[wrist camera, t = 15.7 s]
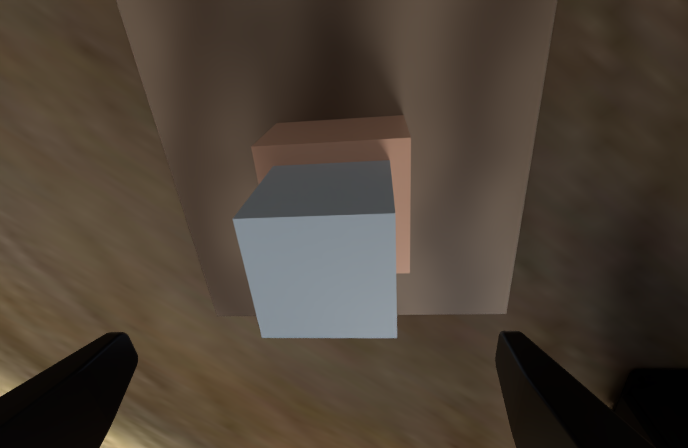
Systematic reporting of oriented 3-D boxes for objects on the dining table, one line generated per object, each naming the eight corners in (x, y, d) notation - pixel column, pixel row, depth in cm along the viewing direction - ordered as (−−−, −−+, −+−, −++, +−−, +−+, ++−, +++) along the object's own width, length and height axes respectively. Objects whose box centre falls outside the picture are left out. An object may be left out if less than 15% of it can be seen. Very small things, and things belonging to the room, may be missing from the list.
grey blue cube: (389, 159, 14) (395, 213, 10) (392, 260, 16) (396, 338, 12) (272, 166, 14) (232, 218, 10) (290, 262, 16) (261, 337, 12)
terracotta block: (403, 114, 17) (410, 137, 13) (404, 229, 19) (409, 273, 16) (276, 123, 17) (251, 146, 14) (294, 232, 20) (276, 275, 17)
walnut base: (545, -54, 15) (568, -65, 13) (496, 292, 23) (506, 313, 22) (139, -9, 17) (111, -13, 15) (228, 296, 25) (217, 316, 23)
